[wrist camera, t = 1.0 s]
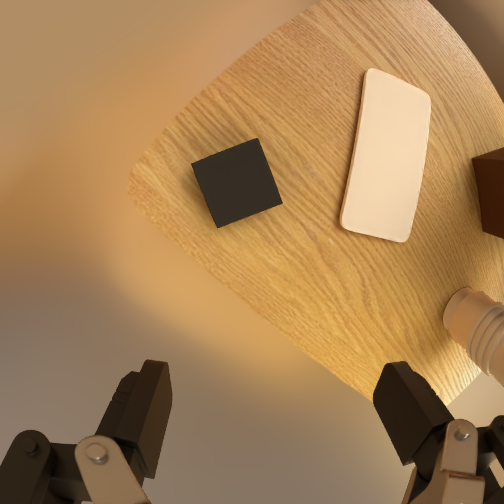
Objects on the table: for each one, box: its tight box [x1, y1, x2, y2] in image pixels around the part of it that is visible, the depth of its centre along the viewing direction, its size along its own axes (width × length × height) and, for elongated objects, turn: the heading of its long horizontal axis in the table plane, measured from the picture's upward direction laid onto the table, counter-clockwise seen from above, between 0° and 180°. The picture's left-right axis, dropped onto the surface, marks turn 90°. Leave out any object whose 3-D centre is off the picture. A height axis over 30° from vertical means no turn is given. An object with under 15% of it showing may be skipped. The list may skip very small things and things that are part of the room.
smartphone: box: [340, 68, 431, 243], centre depth 21 cm, size 7×1×15 cm
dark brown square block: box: [191, 138, 283, 228], centre depth 21 cm, size 5×5×3 cm
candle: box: [443, 287, 504, 387], centre depth 19 cm, size 7×7×15 cm
